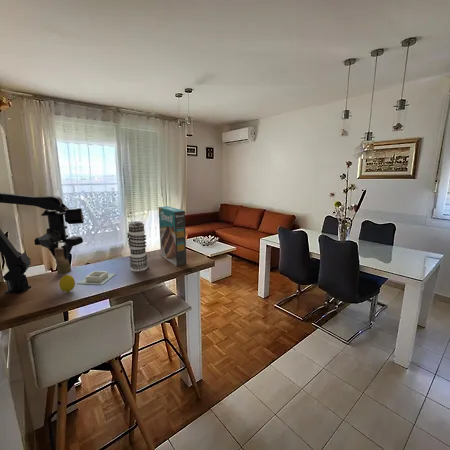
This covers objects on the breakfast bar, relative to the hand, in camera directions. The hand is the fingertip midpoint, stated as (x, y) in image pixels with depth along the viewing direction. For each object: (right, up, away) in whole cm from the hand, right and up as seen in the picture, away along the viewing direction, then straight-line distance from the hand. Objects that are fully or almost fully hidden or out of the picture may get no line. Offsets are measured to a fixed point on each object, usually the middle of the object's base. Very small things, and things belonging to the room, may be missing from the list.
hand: (61, 259), depth 111 cm
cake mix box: (+43, -5, +34) cm, 55 cm away
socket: (+12, -10, +7) cm, 18 cm away
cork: (-9, -9, +16) cm, 20 cm away
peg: (0, -2, 0) cm, 2 cm away
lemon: (+7, -13, -6) cm, 16 cm away
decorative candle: (+28, -8, +21) cm, 35 cm away
